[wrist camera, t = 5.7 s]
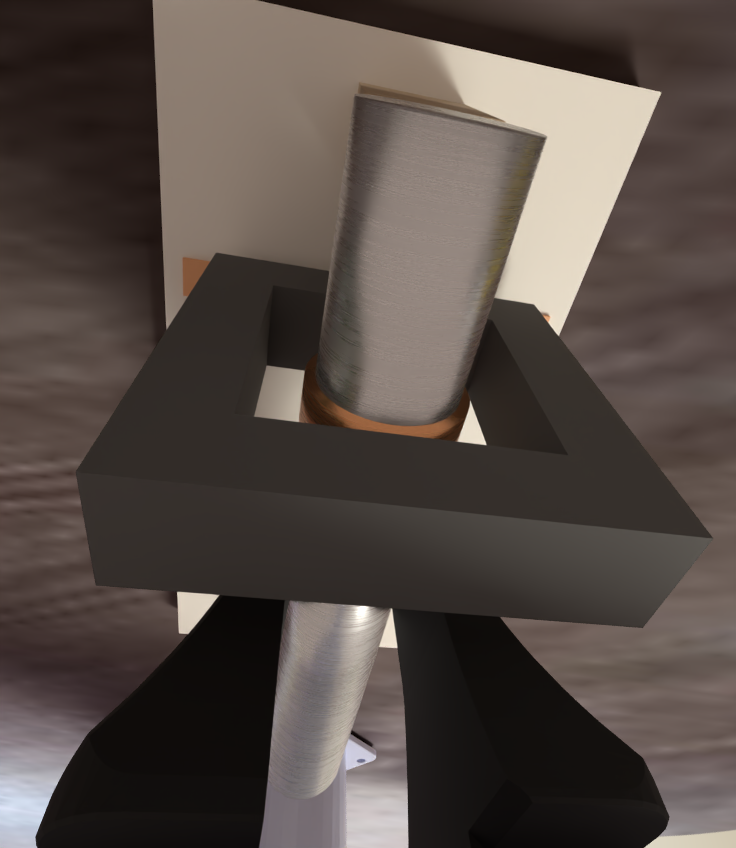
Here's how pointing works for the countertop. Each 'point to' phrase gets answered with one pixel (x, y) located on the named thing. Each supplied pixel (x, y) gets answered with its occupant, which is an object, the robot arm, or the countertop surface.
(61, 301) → the countertop surface
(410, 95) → the tan wooden bar
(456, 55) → the base board
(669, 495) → the collar
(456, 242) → the pipe
